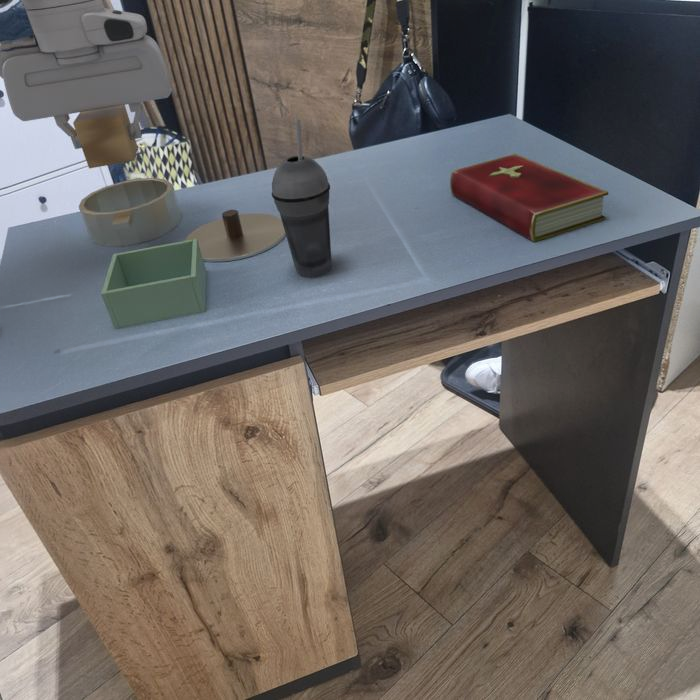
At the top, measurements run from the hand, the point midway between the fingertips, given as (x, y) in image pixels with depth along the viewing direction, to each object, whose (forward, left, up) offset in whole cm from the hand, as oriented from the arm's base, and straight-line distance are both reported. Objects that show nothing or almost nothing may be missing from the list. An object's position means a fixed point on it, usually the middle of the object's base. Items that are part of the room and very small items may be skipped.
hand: (109, 142), depth 87 cm
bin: (+4, -16, -17) cm, 24 cm away
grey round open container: (-2, +11, -17) cm, 20 cm away
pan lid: (+14, -1, -16) cm, 21 cm away
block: (0, 0, -2) cm, 2 cm away
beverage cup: (+24, -16, -17) cm, 33 cm away
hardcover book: (+56, -8, -17) cm, 59 cm away
